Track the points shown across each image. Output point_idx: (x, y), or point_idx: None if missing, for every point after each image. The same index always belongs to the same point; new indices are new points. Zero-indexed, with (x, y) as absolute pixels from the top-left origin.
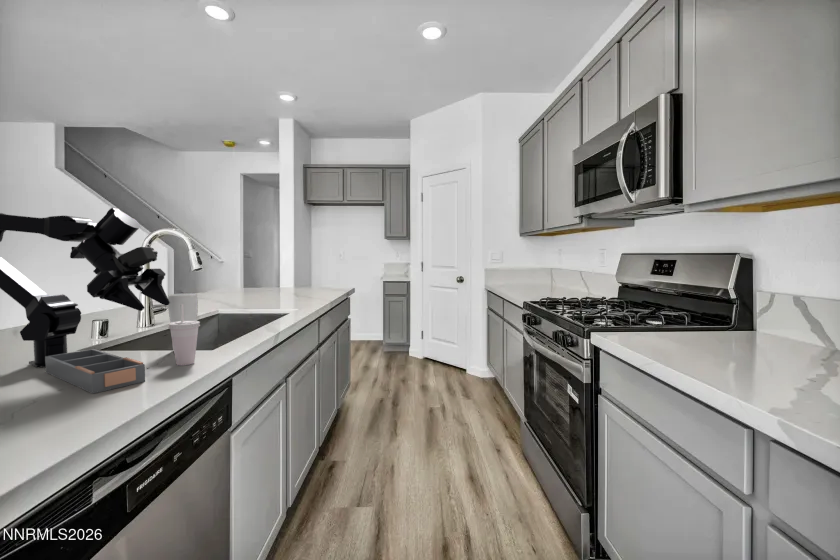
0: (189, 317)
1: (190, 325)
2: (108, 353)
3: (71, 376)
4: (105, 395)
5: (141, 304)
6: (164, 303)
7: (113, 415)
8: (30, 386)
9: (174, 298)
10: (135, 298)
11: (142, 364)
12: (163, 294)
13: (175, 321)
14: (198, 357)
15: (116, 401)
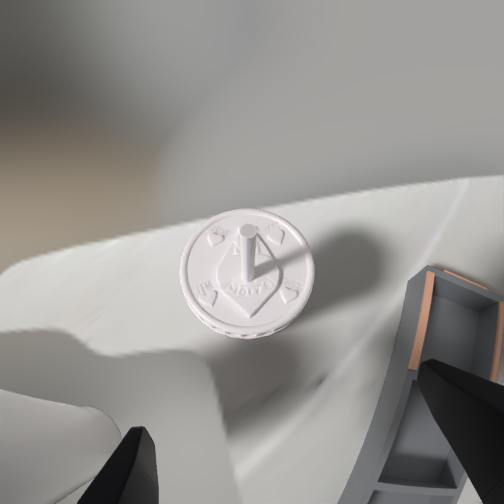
0: (40, 405)
1: (272, 219)
2: (368, 486)
3: None
4: (476, 279)
5: (444, 367)
6: (152, 458)
7: (494, 198)
8: None
9: (7, 477)
10: (488, 383)
11: (430, 268)
12: (124, 484)
13: (78, 459)
14: (173, 328)
15: (478, 236)
